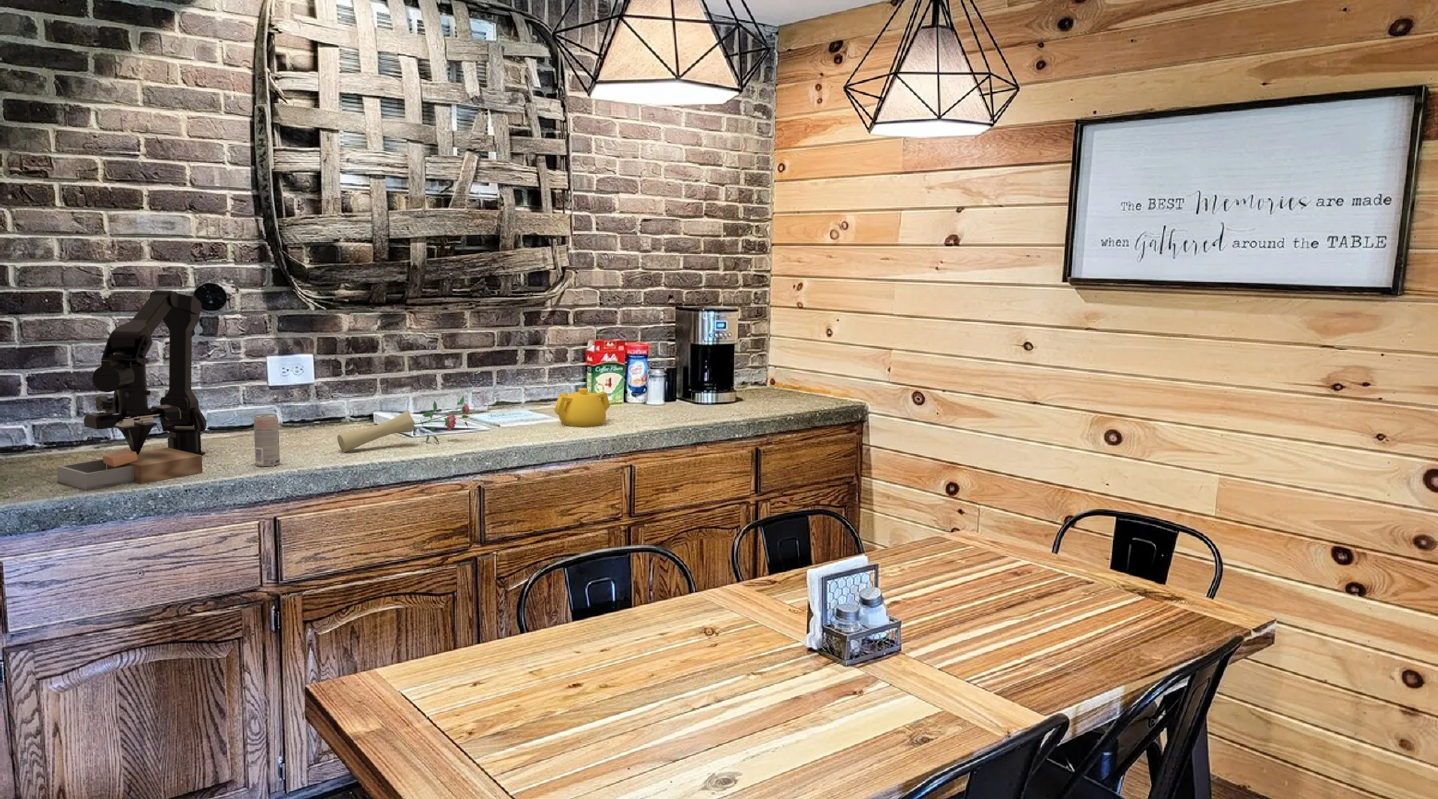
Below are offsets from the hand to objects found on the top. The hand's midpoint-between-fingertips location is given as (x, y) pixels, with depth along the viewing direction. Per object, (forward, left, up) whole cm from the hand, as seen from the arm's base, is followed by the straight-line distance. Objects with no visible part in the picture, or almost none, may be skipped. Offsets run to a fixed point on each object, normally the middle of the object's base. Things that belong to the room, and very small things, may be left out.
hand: (136, 454), depth 226 cm
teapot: (-118, +31, -6) cm, 122 cm away
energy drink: (-25, +11, -5) cm, 28 cm away
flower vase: (-61, +18, -5) cm, 64 cm away
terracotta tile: (+3, -1, -1) cm, 3 cm away
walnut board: (-4, 0, -5) cm, 7 cm away
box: (+8, -2, -5) cm, 10 cm away
